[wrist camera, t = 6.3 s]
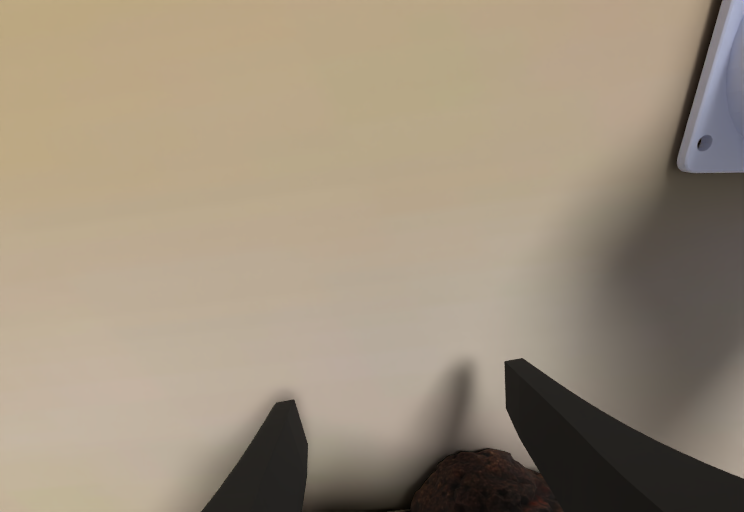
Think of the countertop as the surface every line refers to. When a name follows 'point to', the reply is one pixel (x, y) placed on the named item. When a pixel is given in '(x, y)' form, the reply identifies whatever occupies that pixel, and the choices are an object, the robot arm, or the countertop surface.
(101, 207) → the countertop surface
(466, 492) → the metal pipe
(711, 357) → the countertop surface
